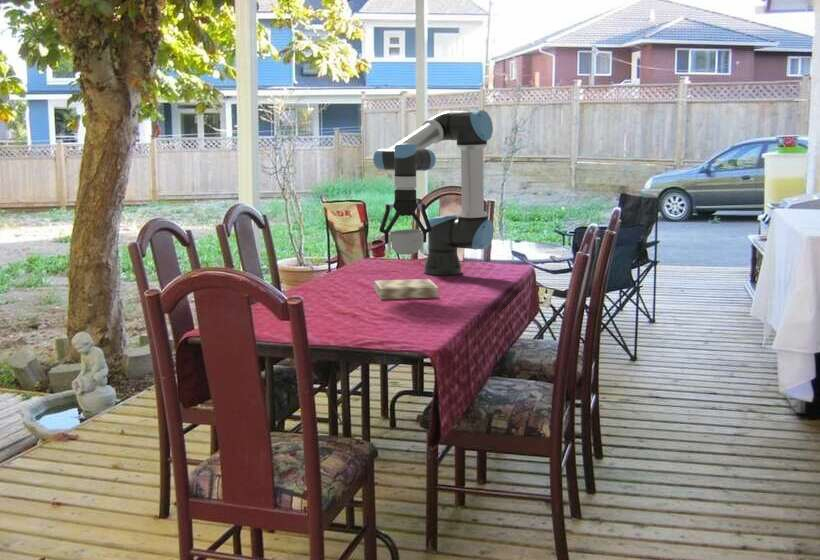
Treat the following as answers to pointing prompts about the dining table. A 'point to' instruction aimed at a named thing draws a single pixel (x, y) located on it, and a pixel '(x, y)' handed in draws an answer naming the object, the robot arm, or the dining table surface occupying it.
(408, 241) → the teacup
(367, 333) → the dining table surface
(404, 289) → the beige tray
